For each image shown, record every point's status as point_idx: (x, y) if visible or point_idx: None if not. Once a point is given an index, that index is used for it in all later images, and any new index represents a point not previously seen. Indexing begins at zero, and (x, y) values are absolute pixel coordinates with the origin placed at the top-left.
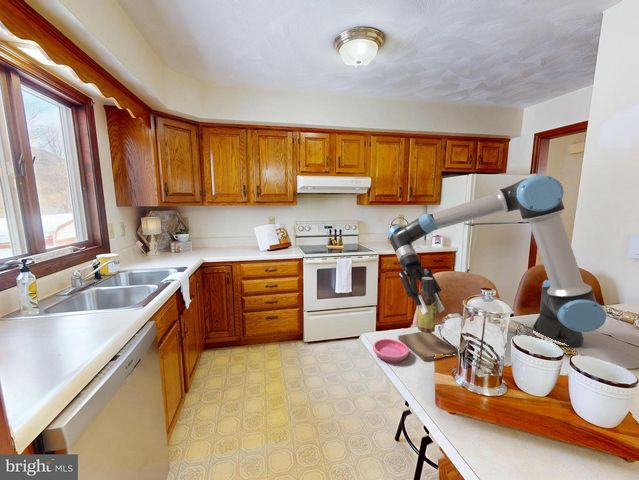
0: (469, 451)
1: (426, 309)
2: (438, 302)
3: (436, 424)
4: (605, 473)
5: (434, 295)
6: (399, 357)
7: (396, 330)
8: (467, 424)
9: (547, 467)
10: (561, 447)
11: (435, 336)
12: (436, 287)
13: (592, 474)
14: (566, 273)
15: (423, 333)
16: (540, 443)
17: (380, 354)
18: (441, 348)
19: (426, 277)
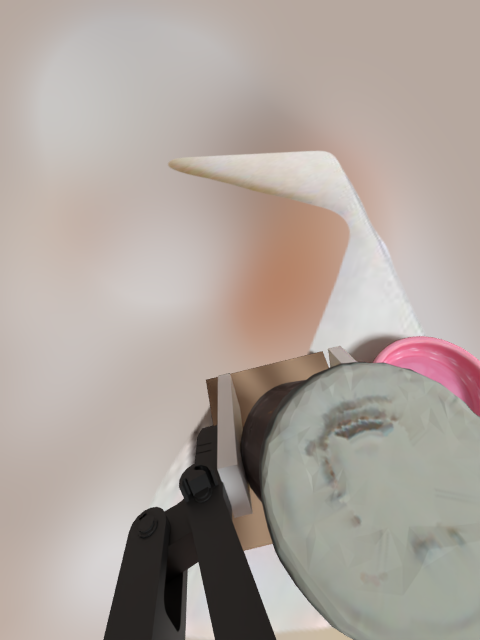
0: (327, 168)
1: (340, 354)
2: (234, 410)
3: (356, 198)
4: (195, 157)
5: (263, 410)
6: (407, 338)
7: None
8: (308, 199)
9: (248, 159)
10: (210, 177)
11: None
12: (165, 566)
13: (209, 156)
14: None
15: (266, 523)
16: (230, 180)
17: (471, 355)
18: (250, 395)
19: (404, 570)
